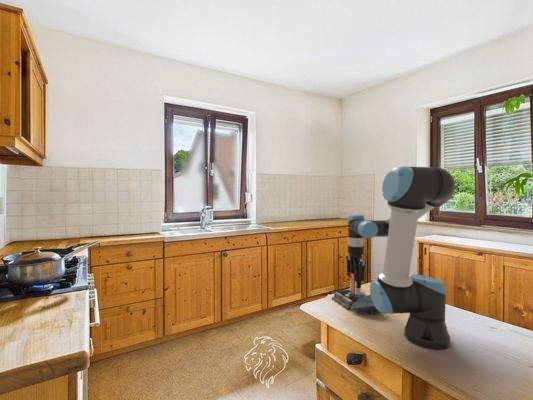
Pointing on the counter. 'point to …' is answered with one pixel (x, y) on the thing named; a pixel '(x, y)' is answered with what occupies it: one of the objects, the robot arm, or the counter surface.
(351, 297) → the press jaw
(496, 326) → the counter surface
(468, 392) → the counter surface
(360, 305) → the rock
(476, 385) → the counter surface
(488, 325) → the counter surface
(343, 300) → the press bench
